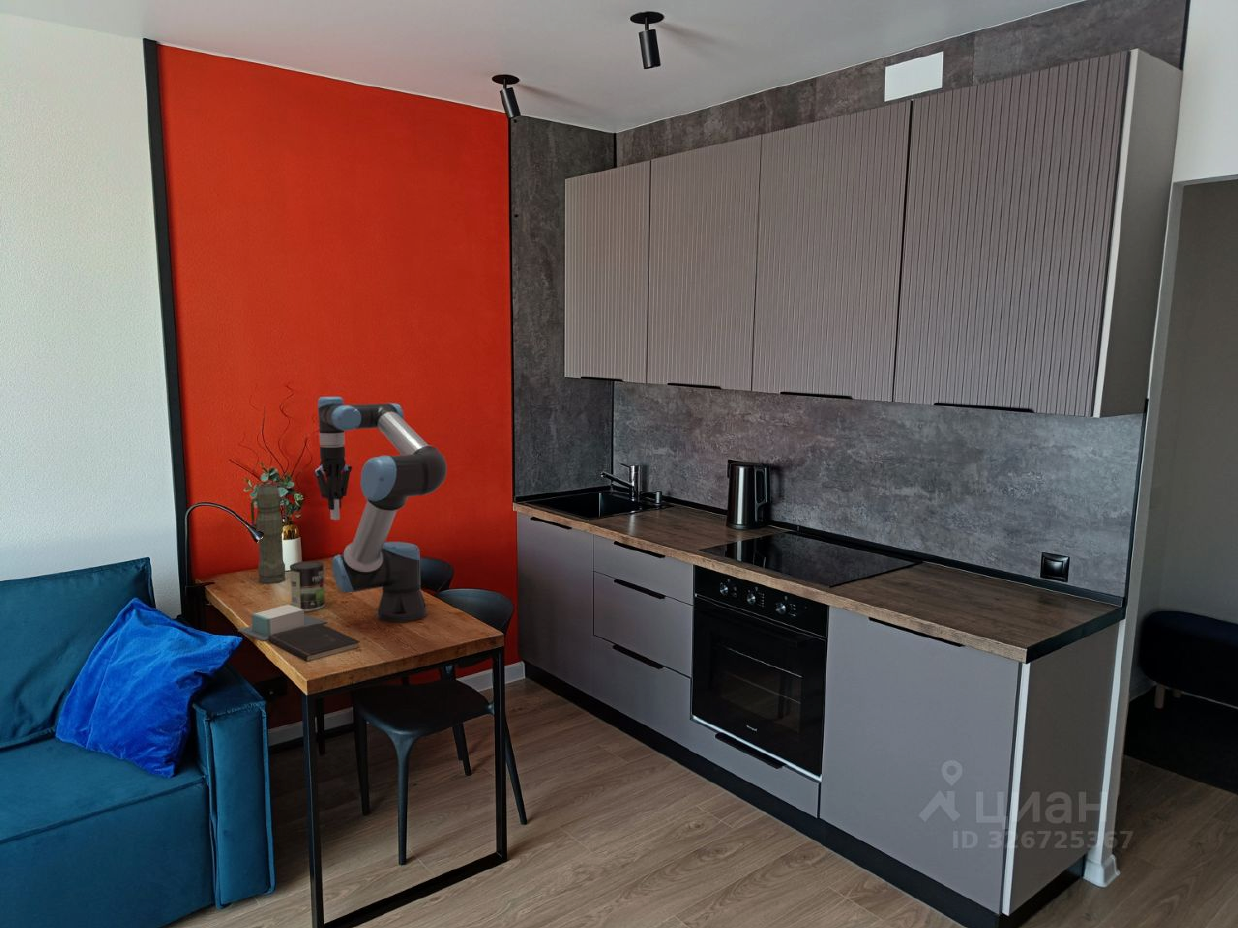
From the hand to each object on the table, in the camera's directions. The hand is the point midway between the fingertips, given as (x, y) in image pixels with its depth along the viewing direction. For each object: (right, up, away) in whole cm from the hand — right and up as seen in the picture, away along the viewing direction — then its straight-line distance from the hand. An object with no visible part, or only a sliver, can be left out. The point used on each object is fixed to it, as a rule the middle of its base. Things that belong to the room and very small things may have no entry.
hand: (335, 519), depth 271 cm
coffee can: (-10, -29, +5) cm, 31 cm away
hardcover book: (+4, -35, -29) cm, 45 cm away
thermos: (-35, -25, +36) cm, 56 cm away
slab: (-8, -28, -13) cm, 32 cm away
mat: (-11, -32, -15) cm, 37 cm away
